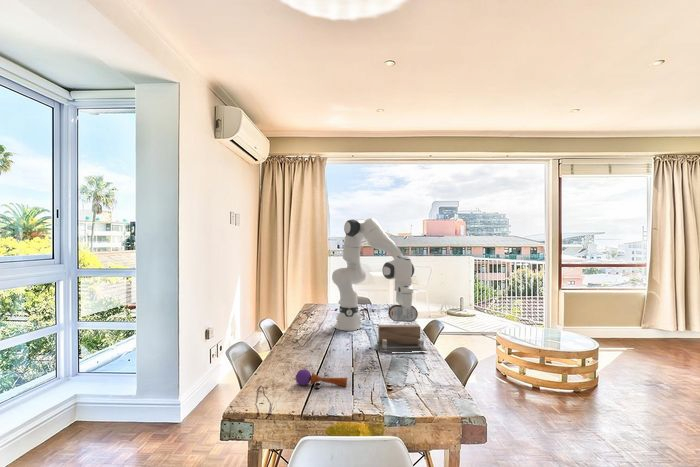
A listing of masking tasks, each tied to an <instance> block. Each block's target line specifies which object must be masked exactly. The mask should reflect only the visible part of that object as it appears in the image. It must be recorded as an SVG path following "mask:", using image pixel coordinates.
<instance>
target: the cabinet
mask: <svg viewBox="0 0 700 467" xmlns="http://www.w3.org/2000/svg"><path fill="white" fill-rule="evenodd" d="M377 332H378V334H377V336H378V337H377V341H376V342H377V344H378V345H377V346H379V347H378V348H380V349H379V351H380V350H381V351H380V352H382V353H392V352H412V351H427V352H428V350H427V348H425V347H424V339H423V338H422V339H421V326H420V325H419V324H378V331H377ZM382 353H381V354H382Z"/></svg>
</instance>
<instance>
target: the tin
mask: <svg viewBox="0 0 700 467" xmlns="http://www.w3.org/2000/svg"><path fill="white" fill-rule="evenodd" d="M418 316H419V312H418V309H417V308H416V307H415V306H414V305H411V308H410V309H407V310H406V315H402V306H401V305H399V304H393V305H391V306H390V307H389V309H388V317H389V319H391V321H393V322H401V323H402V322H404V323H405V322H406V323H413V322H415V321H416V320H417V318H418Z"/></svg>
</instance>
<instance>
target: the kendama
mask: <svg viewBox="0 0 700 467" xmlns="http://www.w3.org/2000/svg"><path fill="white" fill-rule="evenodd" d="M295 382H296V383H297V384H298V385H299V386H301V387H304V386H308V384H310V385H314V384H315V383H318V382H323V383H328V384H333V385H336V386H341V387H344V386H346V387H347V382H348V377H320V376H318V375H317V374H316V373H314V372H310V371H309V370H308V369H305V368H302V369H300V370H298V371H297V373H296V375H295Z"/></svg>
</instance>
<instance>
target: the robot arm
mask: <svg viewBox="0 0 700 467" xmlns="http://www.w3.org/2000/svg"><path fill="white" fill-rule="evenodd" d="M343 228H344V229H343V230H344V233H345V235H344V240H343V247H342V249H343V250H342V259H343V260H344V261H345V262H346V266H347V267H340V268H337V269H335V270H334V271H333V272H332V274H331V280H332V282H333V284H335V285H336V286H337V289H338V291H339V298H340V300H339V303H340V305H339V308H338V309H339V313H338V314H337V316H336V323H335V324H334V325H333V329H335V328H336V329H337V330H340V331H350V332H351V331H358V330H360V328H361V329H363V328H364V326H363V325H362V324H361V314H360V313H359V305H358V293H357V292H356V291H355V290H354V288H353V285H357V284H360V283H362V282H364V281H365V280H366V276H367V275H366V271H365V269H364V268H363V267H362V265H361V264H362V263H361V249H362V248H361V247H362V240H363V239H364V238H365V239H366V241H367V242H368V245H369V246H370V247H371V248H373V249H374V250H379V251H383V252H385V253H387V254H389V255H390V256H391V257H392V258H393V260H390V261H387V262H385V263H384V264H383V266H382V270H381V271H382V274H383V277H384V278H385V279H387V280H394V292H395V301H396V303H398V304H397V305H401V306H402V315H406V310H407V309H410V308H411V306H413V305H412V302H413V293H414V289H413V280H412V277H413V276H414V274H415V266H414V264H413V263H412V259H411V258H410V257H409V256H406V255H405V254H404V253H403V252H402V250H401V249H400V247H399V246H398V245H397V244H396V242H395V241H394V240H393V239H392V238H390V237H389V235H387V234H386V232H385V231H384V229H383V227H382V226H381V224H380V223H379V222H378V220H377V219H376V218H372V217H371V218H367V219H348V220H347V221H346V222H345V224H344V227H343ZM336 329H335V330H336ZM357 329H358V330H357Z"/></svg>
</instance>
